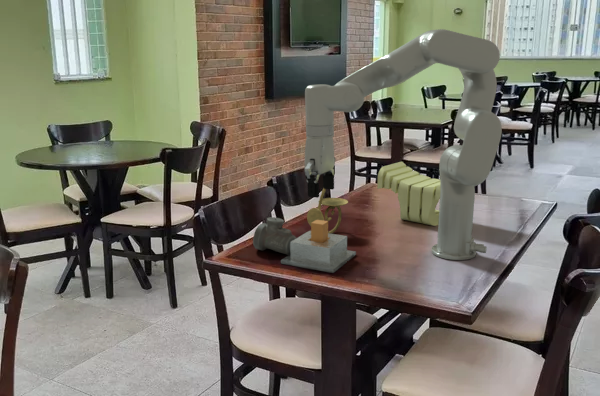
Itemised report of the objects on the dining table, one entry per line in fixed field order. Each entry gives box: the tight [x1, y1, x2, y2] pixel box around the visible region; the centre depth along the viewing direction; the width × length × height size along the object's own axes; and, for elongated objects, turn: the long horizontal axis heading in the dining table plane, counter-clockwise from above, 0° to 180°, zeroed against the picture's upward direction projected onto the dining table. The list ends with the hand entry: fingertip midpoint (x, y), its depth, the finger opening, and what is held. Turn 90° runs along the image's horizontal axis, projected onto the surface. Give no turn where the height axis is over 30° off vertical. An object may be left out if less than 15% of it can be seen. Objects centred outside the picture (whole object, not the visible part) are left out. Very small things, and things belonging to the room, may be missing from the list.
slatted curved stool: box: [377, 161, 440, 227], centre depth 202 cm, size 30×16×18 cm, turn 49°
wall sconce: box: [306, 187, 349, 234], centre depth 184 cm, size 14×10×25 cm
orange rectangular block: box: [310, 220, 329, 243], centre depth 164 cm, size 4×4×10 cm
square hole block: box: [280, 230, 357, 274], centre depth 165 cm, size 16×16×6 cm
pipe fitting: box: [252, 216, 297, 256], centre depth 170 cm, size 12×8×10 cm
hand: (321, 192), depth 161 cm, fingers open, 9 cm apart
